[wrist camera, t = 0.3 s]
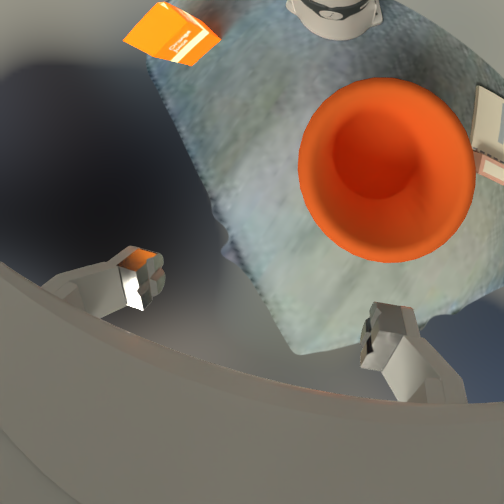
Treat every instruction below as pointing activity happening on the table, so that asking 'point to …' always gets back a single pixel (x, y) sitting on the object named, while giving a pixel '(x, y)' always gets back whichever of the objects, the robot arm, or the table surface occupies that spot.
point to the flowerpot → (386, 170)
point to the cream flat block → (488, 125)
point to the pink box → (489, 167)
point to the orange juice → (172, 35)
